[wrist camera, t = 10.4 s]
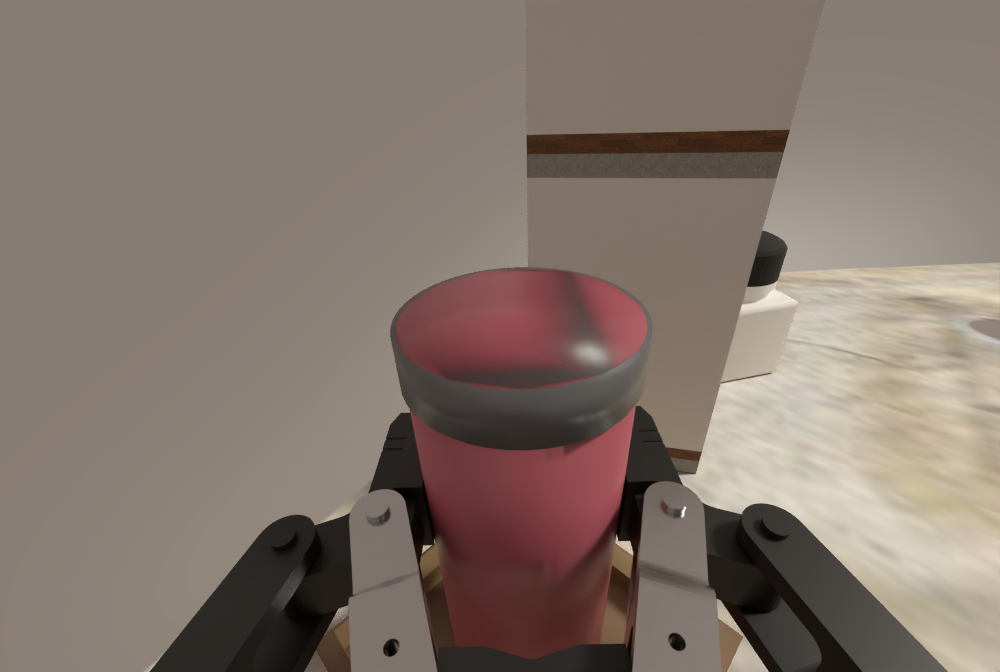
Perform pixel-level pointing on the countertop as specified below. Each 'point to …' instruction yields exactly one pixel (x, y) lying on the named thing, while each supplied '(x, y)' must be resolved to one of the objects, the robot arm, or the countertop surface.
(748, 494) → the countertop surface
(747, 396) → the countertop surface
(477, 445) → the red lidded canister
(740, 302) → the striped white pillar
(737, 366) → the medicine bottle
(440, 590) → the wooden box
